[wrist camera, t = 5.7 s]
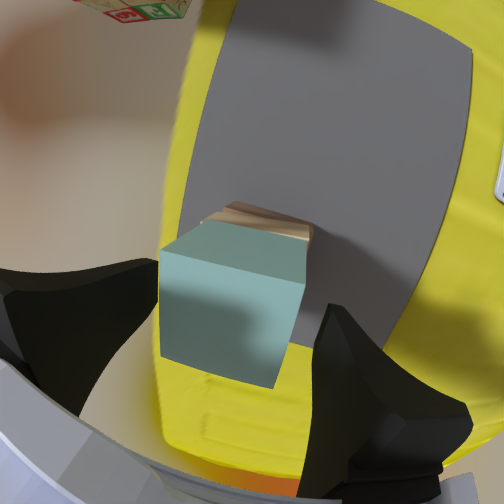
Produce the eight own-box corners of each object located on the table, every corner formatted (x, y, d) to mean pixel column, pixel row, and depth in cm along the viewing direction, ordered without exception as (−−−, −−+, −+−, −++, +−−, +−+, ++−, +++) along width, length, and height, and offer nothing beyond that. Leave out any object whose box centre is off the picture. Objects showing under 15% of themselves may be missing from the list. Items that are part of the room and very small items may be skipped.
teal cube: (306, 240, 12) (305, 284, 8) (284, 324, 13) (273, 389, 9) (208, 219, 12) (159, 250, 8) (199, 303, 14) (160, 356, 10)
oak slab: (308, 225, 14) (309, 238, 12) (293, 307, 16) (290, 332, 13) (216, 211, 15) (200, 221, 12) (211, 292, 16) (197, 313, 14)
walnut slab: (312, 222, 16) (313, 233, 14) (289, 292, 18) (286, 311, 16) (235, 200, 17) (223, 206, 15) (219, 270, 19) (207, 286, 16)
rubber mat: (470, 50, 10) (471, 49, 10) (372, 360, 19) (372, 362, 19) (248, -22, 11) (247, -24, 11) (170, 299, 21) (168, 301, 20)
